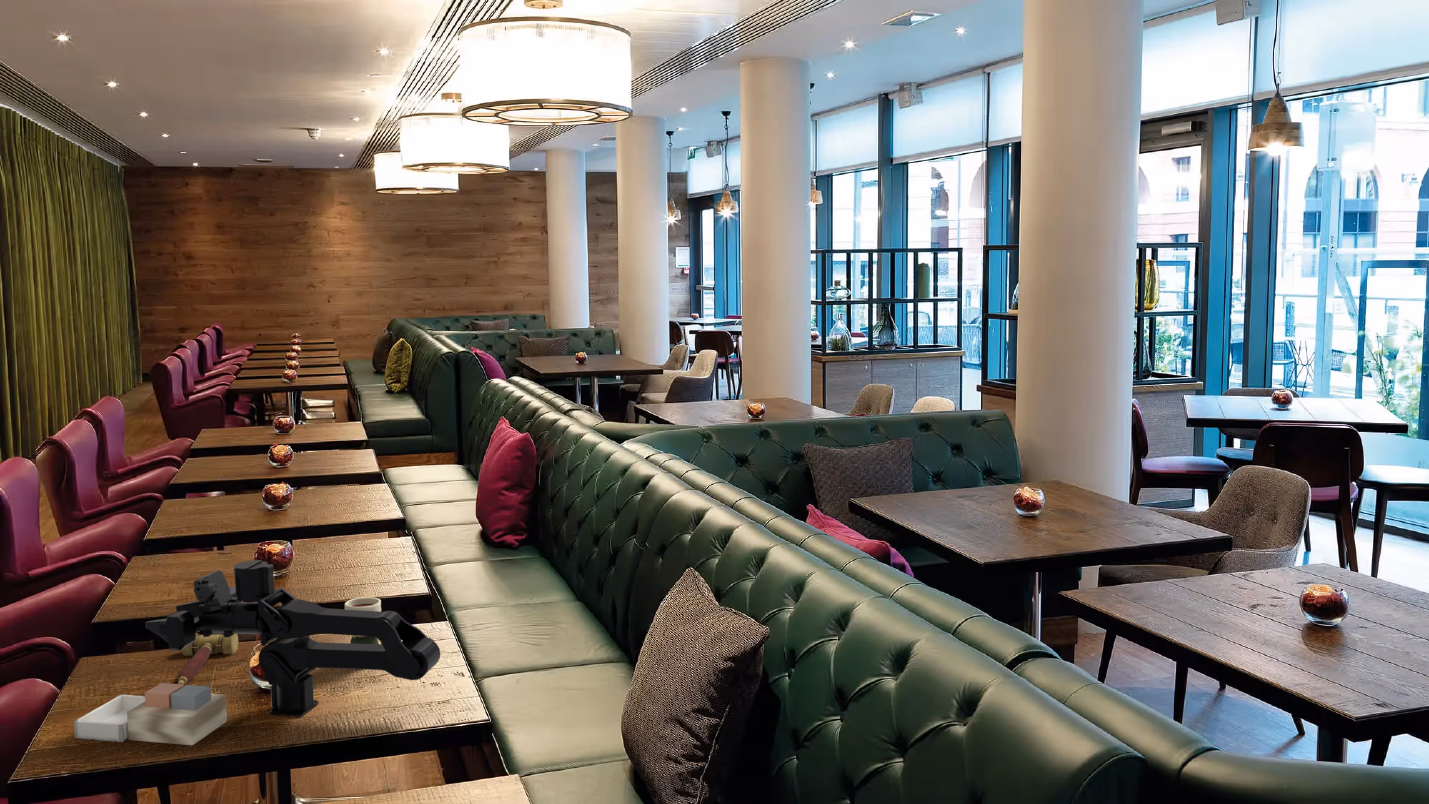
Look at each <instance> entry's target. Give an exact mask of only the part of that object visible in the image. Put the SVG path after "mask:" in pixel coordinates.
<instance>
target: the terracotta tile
mask: <svg viewBox="0 0 1429 804" xmlns="http://www.w3.org/2000/svg"><path fill="white" fill-rule="evenodd" d="M185 686H186V684H183V685H182V684H178V683H168V682H167V683H166V682H160V683H159V684H157V685H155V686H154V687H152V688H150V689H148V690H147V691H145V692H144V696H145V706H146V707H158V708H170V707H172V704H171V694H173V693H175V692H176V691H178V690H180V689H181V688H183V687H185Z"/></svg>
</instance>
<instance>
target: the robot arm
mask: <svg viewBox="0 0 1429 804" xmlns="http://www.w3.org/2000/svg"><path fill="white" fill-rule="evenodd" d="M233 572H234V573H233V574H234V586H235V587H234V586H229V584H228V582H227V579H226V578H225V574H224V573H223V571H222V570H219V569H218V570H216V571H213V572H210V573H208V574H205V575H203V576H201V577H199V578H197V579H195V580H193V593H194V594H195V597H196V600H195V601H191V602H187V603H182V604H178V605H176V606H175V610H176V611H174V612H172V613H171V614H169V615H168V616H167V617H166V618H162V619H161V618H160V619H155V620H150V621H149V620H148V621H145V623H144V624H145V629H147V630H149V631H150V632H151V633H153V634H155V635H157V636H159V637H160V638H161V639H163V641H166V642H167V643H168V644H167V645H168V650H170V651H179V652H180V651H181V652H182V649H184V648H186V647H187V646H189V645H191V644H192V643H193V642H194V641H195V640H196V634H197V633H198V632H200V631H202V635H203V637H209V636H211V635H215V634H223V635H224V637H231V636H232V635H234V634H237V635H259V636H260V645H261V646H262V648H261V649H260V651H259V653H258V664H259V665H260V667H261V669H262V670H263V672H264V675H265V678H266V680H267V683H268V684H269V686H270V700H271V707H272V708H271V709H270V710H269V711H268V714H269V715H275V716H287V717H289V716H290V717H303V716H304V715H305V714H307V713H308V712H310V710H312V709H313V708H314V707H316V706H317V705H318V704H319V700H317V699H316V700H315V699H314V698H315V697H314V677H313V674H310V673H311V672H313V671H315V670H316V669H341V670H342V669H343V670H370V671H373V670H374V671H383V672H386V673H388V674H390V675H391V676H393V677H395V678H399V679H404V680H408V681H418V680H420V679H422V678H423V677H424V676H425V675H426V674H428V672H429V671H430V670H432V669H433V668H434V667H435V666H436V665H437V664H438V662H440V661H439V660H440V657H441V650H440V647H439V645H438V643H436V641H435V640H434V639H433V638H431V637H428V636H427V635H426V634H425V633H424V632H423V631H422V630H421V629H420V628H418V627H416V626H414V625H413V624H411V623H409V622H408V621H406V620H405V619H404V618H403V617H402V615H400V613H398V612H396V611H393V610H387V611H381V612H379V611H362V610H345V608H344V609H341V608H327V607H323V606H320V605H318V604H317V603H315V602H313V601H309V600H304V599H301V598H300V599H299V598H296V597H295V596H293V595H292V594H291V593H289V592H288V591H286V590H285V589H284V588H283V587H280V588H278V589H275V582H274V581H275V580H274V579H275V578H274V575H275V574H274V573H275V565H274V564H271V563H268V562H267V561H263V560H262V559H253V560H245V561H242V562H238V563H236V564H234V565H233ZM279 603H280V604H281V605H280V606H279V607H277V608H276V609H275V608H274V607H275V606H276V605H278V604H279ZM316 634H322V635H323V634H324V635H341V636H351V635H356V636H372V637H377V638H378V642H380V643H381V644H379V643H378V644H352V643H350V642H348V643H347V642H346V643H344V642H343V643H342V642H320V641H319V642H318V641H315V640H314V639H312V638H310V635H316Z"/></svg>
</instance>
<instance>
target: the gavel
mask: <svg viewBox="0 0 1429 804" xmlns="http://www.w3.org/2000/svg"><path fill="white" fill-rule="evenodd" d="M195 634H196V640H195V641H194V642H193V643H192V644H191V645H189V646H187V647H186V648H184V649H182V650H181V652H182V655H183V656H184V657H188V656H191V658H190V660H189V661H188V662H187V664H186V665H185V666H184V667H183V669H182V670H181V672H180V673H179V675H178V679H177V680H178V682H177V684H182V685H187V683H190V682H191V681H192V680H193V679H194V677H196V675H197V673H198V672H199V671H200V670H201V668H202V667H203V665H204V664H205V663H206V661H207V660H208V658H209V657H210V655H219V654H218V653H220V654H223V655H224V654H226V655H234V654H233V653H234V652H235V651H236V650H237V651H238V648H239V636H238V635H239V634H234V635H232V636H231V637H224V634H222V633H216V634H212V635H211V636H209V637H203V634H200V635H198V634H197V633H195ZM216 645H221V646H216ZM191 647H198V648H191ZM237 651H236V652H237ZM236 652H235V653H236ZM193 655H194V656H193Z"/></svg>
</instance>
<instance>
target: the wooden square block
mask: <svg viewBox="0 0 1429 804" xmlns="http://www.w3.org/2000/svg"><path fill="white" fill-rule="evenodd" d="M226 699H227V697H226V694H223V693H222V694H220V693H211V701H209V702H208V703H206V704H205V705H203V706H202V707H200V708H199V709H197V710H183V709H172V707H170V708H158V707H146V706H145V702H143V703H142V704H140V705H138V706H137V707H135V708H133V709H132V710H130V711H128V712H127V720H128V736H129V738H128V741H138V742H139V741H140V742H149V743H162V744H172V745H173V744H175V745H183V746H184V745H185V746H186V745H187V746H194V745H195V744H196V743H198V742H199V741H201V740H203V739H204V738H205V737H206V736H209V735H210V734H211V733H212V732H214V731H216V729H218V728H219V727H221V726H222V725H224V724H225V723H226V722H227V721H228V717H227V716H228V715H227V714H228V713H227V700H226Z"/></svg>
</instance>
